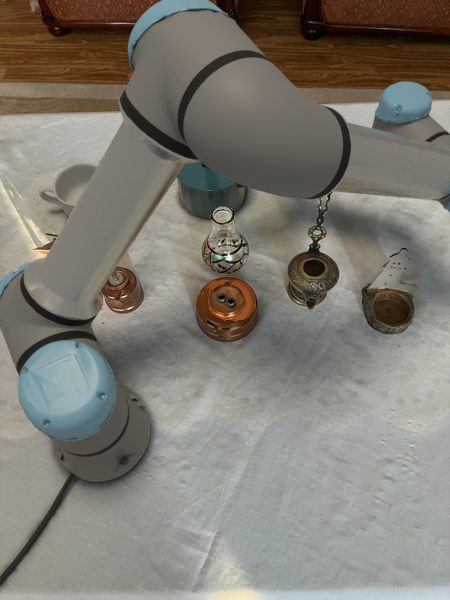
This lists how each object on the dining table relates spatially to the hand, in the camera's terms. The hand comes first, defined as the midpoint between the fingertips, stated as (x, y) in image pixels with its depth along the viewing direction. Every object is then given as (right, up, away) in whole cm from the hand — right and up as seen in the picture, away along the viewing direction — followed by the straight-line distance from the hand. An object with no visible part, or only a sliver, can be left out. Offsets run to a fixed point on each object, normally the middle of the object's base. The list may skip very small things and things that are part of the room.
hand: (214, 133), depth 96 cm
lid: (-1, -4, +7) cm, 8 cm away
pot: (-1, -8, +15) cm, 17 cm away
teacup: (-28, -11, +14) cm, 33 cm away
